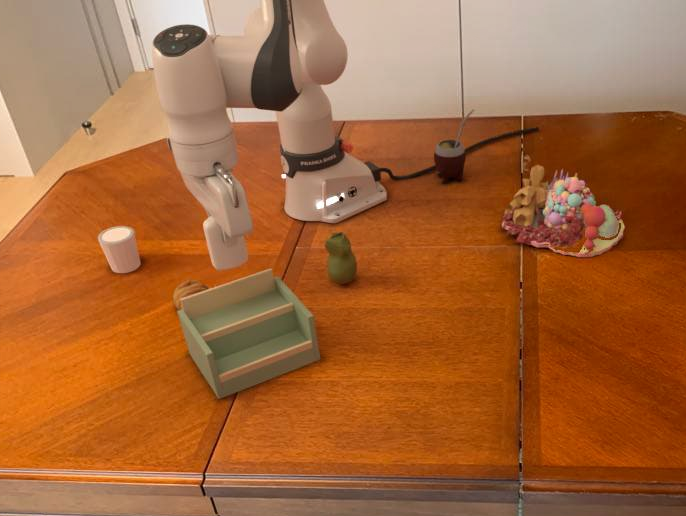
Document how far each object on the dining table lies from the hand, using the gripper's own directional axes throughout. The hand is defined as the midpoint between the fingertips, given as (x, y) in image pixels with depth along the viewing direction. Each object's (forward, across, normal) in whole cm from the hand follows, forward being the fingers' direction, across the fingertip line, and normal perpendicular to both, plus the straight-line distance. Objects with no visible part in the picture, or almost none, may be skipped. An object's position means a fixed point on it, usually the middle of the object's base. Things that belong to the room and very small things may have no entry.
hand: (225, 237), depth 124 cm
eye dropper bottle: (+5, 0, 0) cm, 5 cm away
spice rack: (+21, -3, 0) cm, 22 cm away
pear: (+21, +9, -23) cm, 32 cm away
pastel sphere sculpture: (+21, +2, -70) cm, 73 cm away
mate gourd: (+21, +33, -63) cm, 74 cm away
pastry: (+22, +17, +3) cm, 28 cm away
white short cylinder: (+22, +39, +10) cm, 46 cm away
